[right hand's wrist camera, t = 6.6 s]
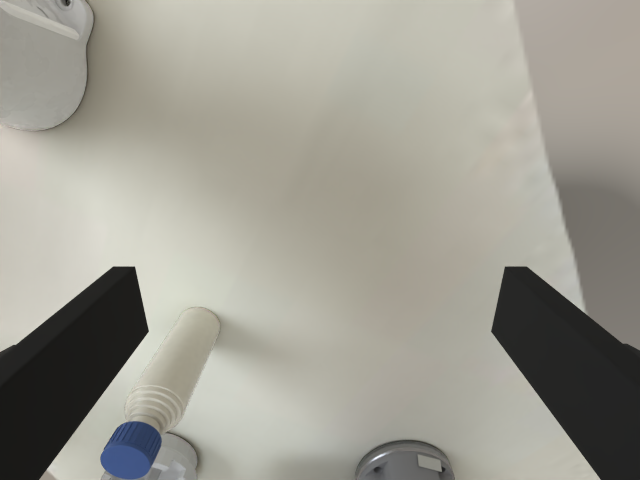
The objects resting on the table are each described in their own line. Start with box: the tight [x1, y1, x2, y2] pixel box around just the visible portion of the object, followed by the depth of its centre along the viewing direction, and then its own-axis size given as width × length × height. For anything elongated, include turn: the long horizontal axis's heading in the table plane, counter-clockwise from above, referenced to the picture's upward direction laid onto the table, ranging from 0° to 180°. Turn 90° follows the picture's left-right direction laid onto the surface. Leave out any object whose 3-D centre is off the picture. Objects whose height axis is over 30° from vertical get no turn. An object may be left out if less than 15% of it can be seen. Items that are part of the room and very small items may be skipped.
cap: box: [101, 421, 162, 479], centre depth 30 cm, size 4×4×2 cm
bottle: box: [125, 307, 220, 435], centre depth 38 cm, size 6×6×19 cm
